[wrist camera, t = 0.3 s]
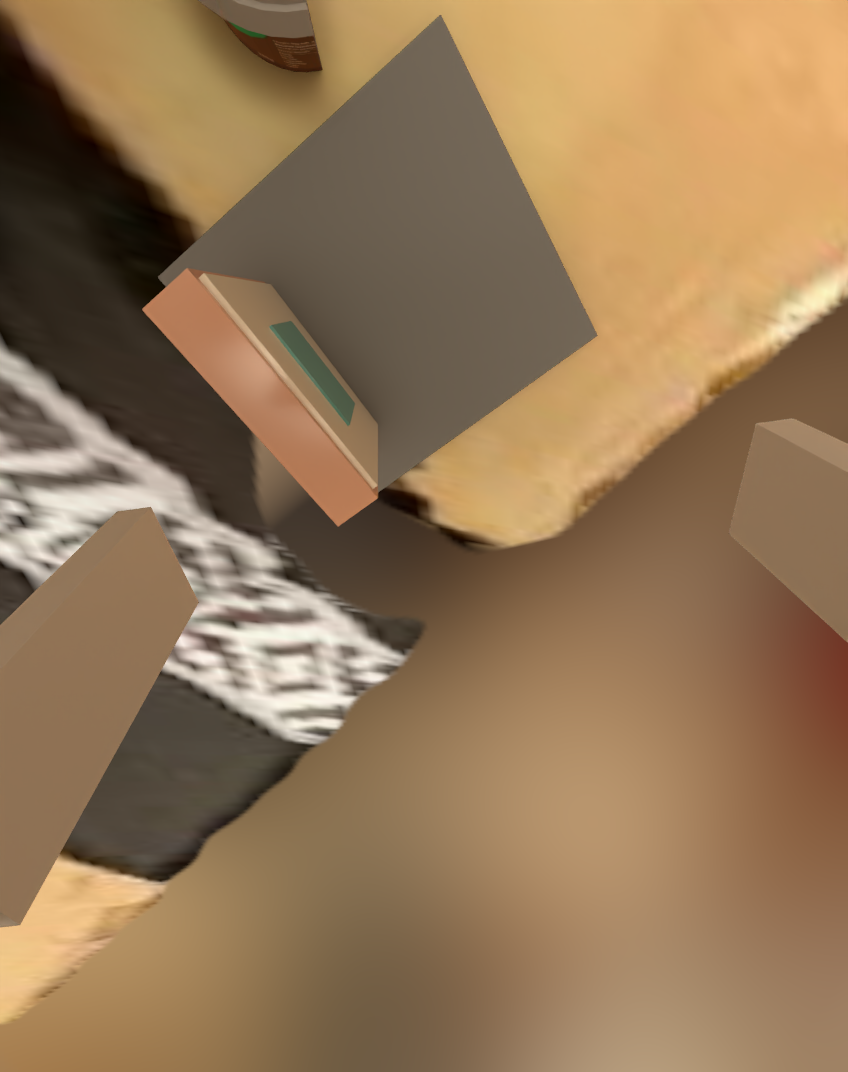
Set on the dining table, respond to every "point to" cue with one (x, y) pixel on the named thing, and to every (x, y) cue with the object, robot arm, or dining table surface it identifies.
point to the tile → (275, 383)
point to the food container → (273, 30)
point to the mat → (408, 254)
